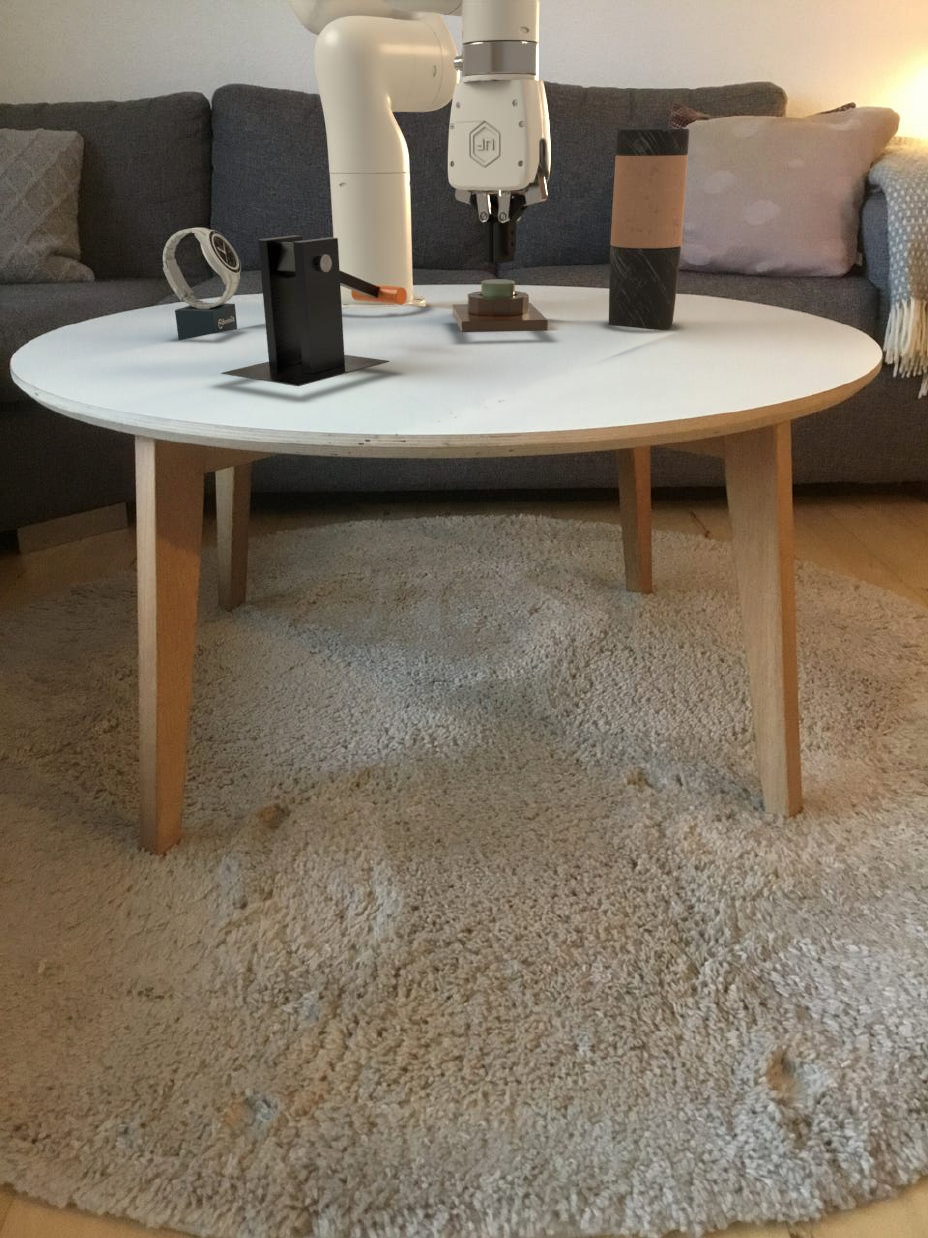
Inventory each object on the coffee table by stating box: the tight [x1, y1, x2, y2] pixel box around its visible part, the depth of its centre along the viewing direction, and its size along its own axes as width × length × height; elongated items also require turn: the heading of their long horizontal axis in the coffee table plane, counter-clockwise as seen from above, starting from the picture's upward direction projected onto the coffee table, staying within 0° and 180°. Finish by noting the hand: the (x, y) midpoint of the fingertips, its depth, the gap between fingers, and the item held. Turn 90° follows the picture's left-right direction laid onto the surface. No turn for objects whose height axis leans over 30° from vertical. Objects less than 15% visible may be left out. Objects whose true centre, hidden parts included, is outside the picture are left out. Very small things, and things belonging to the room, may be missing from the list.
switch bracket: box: [220, 235, 390, 387], centre depth 87 cm, size 12×9×12 cm
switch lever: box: [277, 242, 407, 305], centre depth 90 cm, size 13×6×2 cm, turn 145°
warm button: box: [480, 278, 516, 297], centre depth 109 cm, size 4×4×2 cm
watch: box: [162, 227, 242, 341], centre depth 107 cm, size 6×8×11 cm
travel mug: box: [608, 128, 690, 331], centre depth 109 cm, size 8×8×20 cm
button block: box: [451, 290, 549, 333], centre depth 110 cm, size 12×9×4 cm
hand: (500, 261), depth 108 cm, fingers closed
